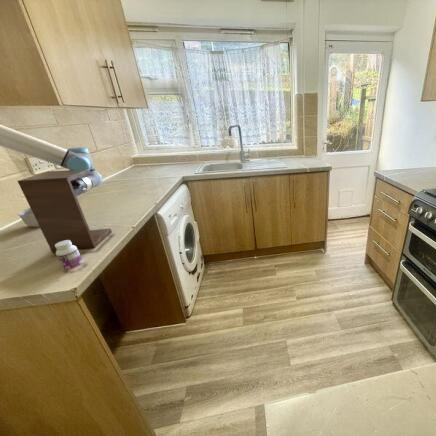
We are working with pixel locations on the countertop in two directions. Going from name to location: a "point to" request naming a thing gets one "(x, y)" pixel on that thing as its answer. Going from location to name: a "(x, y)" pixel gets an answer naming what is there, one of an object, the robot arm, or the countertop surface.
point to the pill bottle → (68, 254)
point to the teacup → (28, 218)
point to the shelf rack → (60, 209)
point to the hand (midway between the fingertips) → (40, 202)
